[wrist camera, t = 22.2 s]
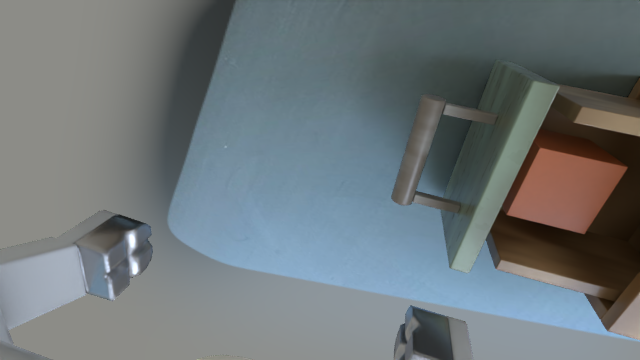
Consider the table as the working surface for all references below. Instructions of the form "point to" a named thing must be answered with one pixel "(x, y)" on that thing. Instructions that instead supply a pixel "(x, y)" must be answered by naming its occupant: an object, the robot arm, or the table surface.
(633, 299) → the cabinet
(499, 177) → the drawer
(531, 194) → the block
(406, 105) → the table surface
